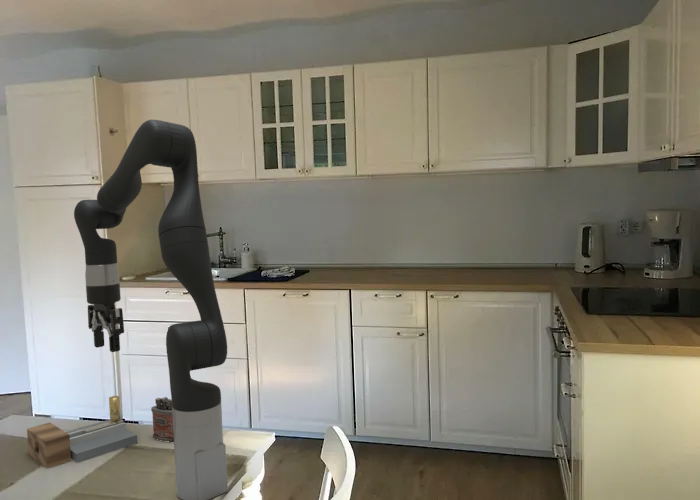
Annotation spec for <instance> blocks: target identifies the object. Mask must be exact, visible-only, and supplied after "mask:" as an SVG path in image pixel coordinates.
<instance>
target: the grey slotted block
mask: <svg viewBox="0 0 700 500" xmlns="http://www.w3.org/2000/svg"><path fill="white" fill-rule="evenodd" d="M107 422H110V419H107V420H102V421H100V422H95V423H93V424H88V425H85V426H81V427H79V428H74V429H72V430H68V431H65V432H66V433H68V434H69V436H70V450H71V460H73V461H74V462H75V463H80V462H83V461H86V460H90V459H93V458H96V457H99V456H103V455H106V454H108V453H111V452H114V451H117V450H120V449H123V448H127V447H129V446H133V445H136V444H139V443H138V435H137V434H136V433H135V432H132V431H130V430H128V429H127V426H126V422H123V423H120V424H117V425H113V426H110V427H107V428H103V429H100V430H96V431H93V432H89V433H86V434H83V429H86V428H90V427H93V426H97V425H100V424H104V423H107Z"/></svg>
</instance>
